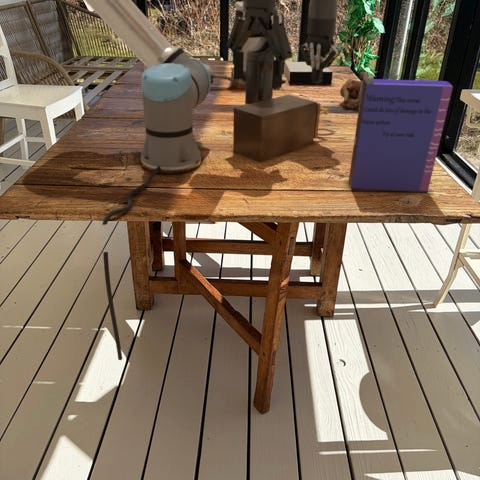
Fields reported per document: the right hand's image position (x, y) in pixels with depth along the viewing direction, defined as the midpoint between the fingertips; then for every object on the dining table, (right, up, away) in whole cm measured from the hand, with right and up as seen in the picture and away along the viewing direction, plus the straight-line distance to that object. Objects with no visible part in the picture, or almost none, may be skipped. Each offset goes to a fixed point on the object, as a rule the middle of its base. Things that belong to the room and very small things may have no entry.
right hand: (316, 82), depth 136 cm
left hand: (-17, -5, -14) cm, 23 cm away
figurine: (-19, +16, +56) cm, 62 cm away
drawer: (-8, -16, +2) cm, 18 cm away
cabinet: (-12, -19, -2) cm, 22 cm away
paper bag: (-16, +32, +82) cm, 89 cm away
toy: (-49, +30, +78) cm, 97 cm away
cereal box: (+13, -32, -24) cm, 42 cm away
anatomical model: (+19, +4, +37) cm, 42 cm away
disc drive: (+7, +26, +72) cm, 77 cm away
